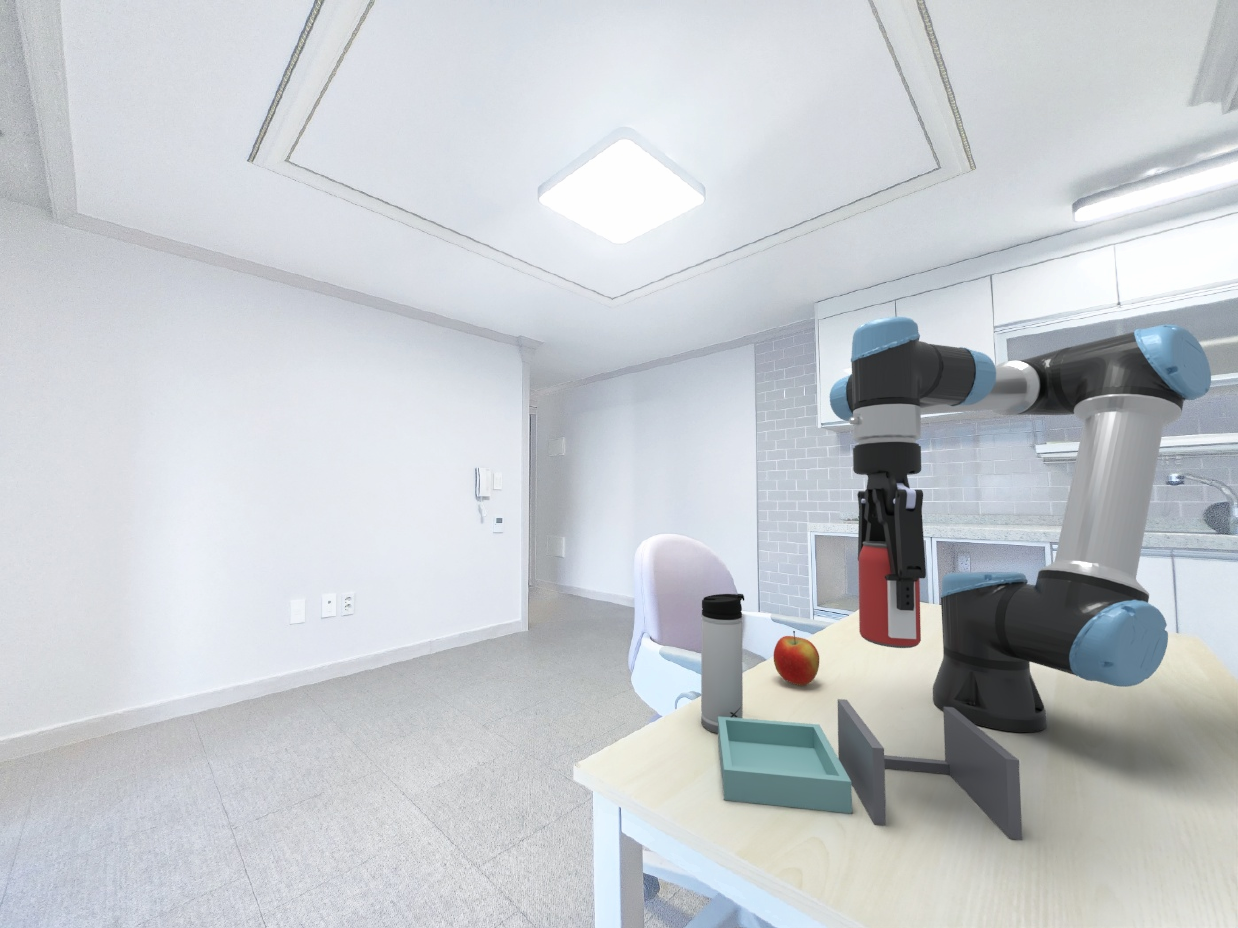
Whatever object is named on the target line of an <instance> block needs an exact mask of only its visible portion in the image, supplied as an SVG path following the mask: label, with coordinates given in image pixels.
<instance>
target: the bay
mask: <svg viewBox="0 0 1238 928" xmlns="http://www.w3.org/2000/svg"><path fill="white" fill-rule="evenodd" d="M943 710H944V711H943ZM943 710H942V711H943V740H944V741H943V742H944V743H943V744H944V759H935V758H923V757H922V758H921V757H910V756H900V755H890V754H887V755H886V754H885V747H884V746H883V745H882V744H881V742H880V741H879V740H878V738H877V737H876V735H874V733H873V732H872V730H871V729H870V728H869V726H867V724H866V723H865V722H864V720H863V719H862V717H861V716H860V715H859V713H858V712H857V711H856V709H854V707H853V706H852V705H851V703H850V702H849V701H848V699H842V698H840V699H839V698H837V745H838V746H837V747H838V750H837V751H838V755H837V757H838V759H839V761H840V762H841V764H842V766H843V768H844V769H845V771H846V773H847V775H848V777H849V778H850V780H851V786H852V787H853V789H854V790H855V793H856V795H857V796H858V798H859V800H860V801H861V803H862V805H863V807H864V809H865V811H866V812H867V814H868V816H869V818H870V819H871V821H872V823H873V825H877V826H878V825H879V826H886V825H887V817H886V815H887V813H886V812H887V811H886V809H887V808H886V774H885V773H886V769H889V770H898V771H899V770H900V771H910V772H911V771H912V772H921V773H934V774H944V775H949V776H951V778H952V779H953V780H954V781H955V782H956V783H957V784H958V786H959V787H961V789H963V791H964V792H965V793H966V794H967V795H968V796H969V797H970V798H971V799H972V801H974V802H975V803H976V804H977V806H978V807H979V808H980V809H981V810H982V811H983V812H984V813H985V814H986V815H987V816H988V818H989V819H990V820H991V821H992V822H993V823H994V824H995V825H996V826H997V827H998V828H999V829H1000V830H1001V832H1002V833H1003V834H1004V835H1005V836H1006V837H1007V838H1008V839H1009V840H1017V841H1023V829H1022V828H1023V826H1022V806H1021V805H1022V804H1021V802H1022V801H1021V782H1020V781H1021V778H1020V760H1019V758H1017V757H1016V756H1014V754H1012V753H1011V752H1009V750H1007V749H1006V748H1005V747H1003V746H1002V745H1001V744H999V742H997V741H996V740H995V739H994V738H992V737H991V736H989V734H987V733H986V732H985V731H984V730H982V729H981V728H980V727H978V726H977V724H974V723H972V722H971V721H970V720H968V719H967V718H966V717H965V716H963V715H962V714H961V713H960V712H958V711H957V710H956V709H955V708H953V707H943Z"/></svg>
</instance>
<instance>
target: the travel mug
mask: <svg viewBox="0 0 1238 928" xmlns="http://www.w3.org/2000/svg"><path fill="white" fill-rule="evenodd" d="M742 601H745V595H744V594H743V593H719V594H712V595H707V596H705V597H703V599H702V600H701V620H700V621H701V641H700V642H701V643H700V645H701V647H700V649H701V650H700V651H701V652H700V653H701V656H700V657H701V669H700V671H701V675H700V677H701V680H700V685H701V689H700V692H701V693H700V695H701V697H700V698H701V700H700V702H701V705H700V706H701V707H700V710H701V711H700V712H701V715H700V718H701V720H700V722H701V725H702V727H703V728H705V729H706V730H707V731H709V732H712V733H715V734H718V716H719V717H732V718H743V716H744V715H743V713H744V712H743V710H744V707H743V703H744V702H743V691H744V690H743V689H744V688H743V612H742V610H743V608H742Z"/></svg>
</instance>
